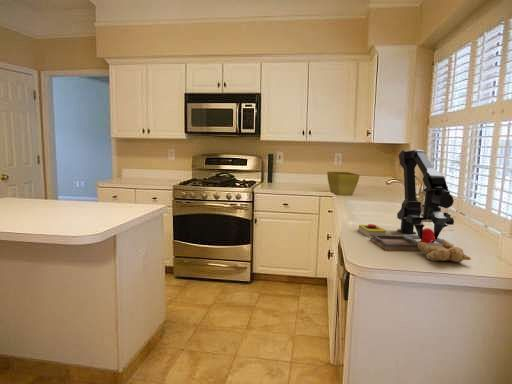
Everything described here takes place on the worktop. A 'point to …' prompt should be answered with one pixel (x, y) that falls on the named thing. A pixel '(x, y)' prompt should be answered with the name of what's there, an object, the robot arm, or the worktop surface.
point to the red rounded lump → (428, 236)
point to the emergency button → (371, 230)
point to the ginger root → (443, 252)
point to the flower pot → (342, 182)
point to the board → (394, 243)
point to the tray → (429, 244)
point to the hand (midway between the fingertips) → (427, 239)
